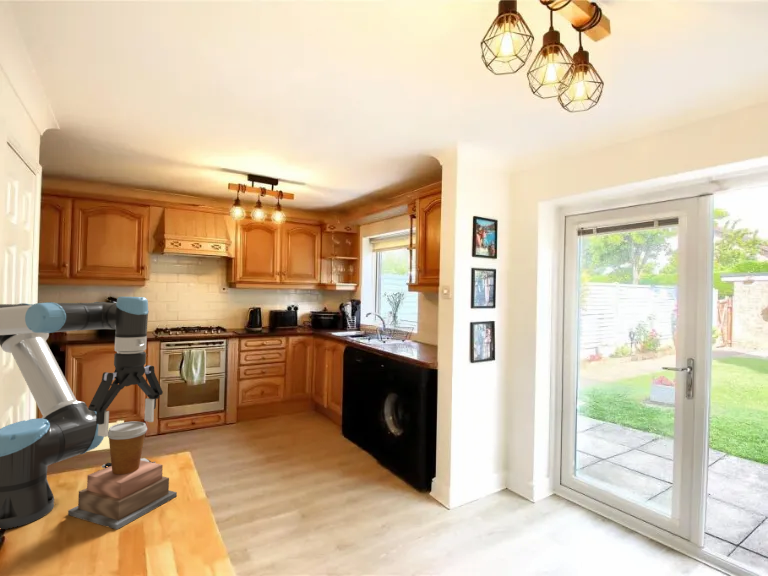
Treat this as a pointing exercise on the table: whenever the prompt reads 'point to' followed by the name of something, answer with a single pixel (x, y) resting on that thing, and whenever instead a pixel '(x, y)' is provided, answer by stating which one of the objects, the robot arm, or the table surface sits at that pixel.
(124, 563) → the table surface
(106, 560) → the table surface
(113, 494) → the pink brown stepped block
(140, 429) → the disposable coffee cup
